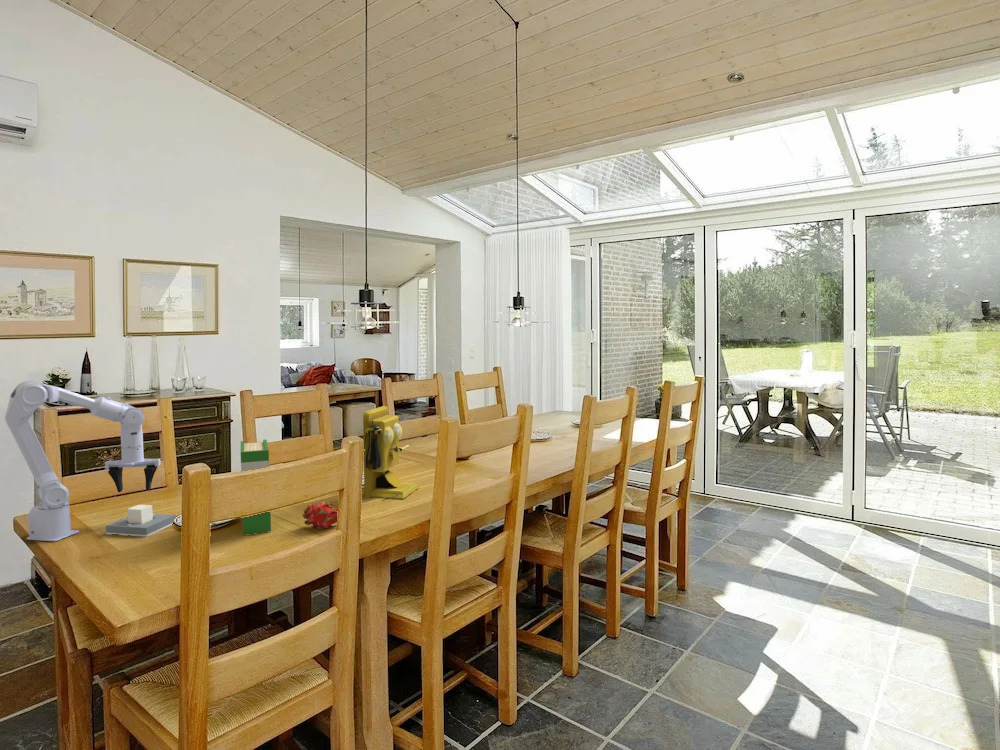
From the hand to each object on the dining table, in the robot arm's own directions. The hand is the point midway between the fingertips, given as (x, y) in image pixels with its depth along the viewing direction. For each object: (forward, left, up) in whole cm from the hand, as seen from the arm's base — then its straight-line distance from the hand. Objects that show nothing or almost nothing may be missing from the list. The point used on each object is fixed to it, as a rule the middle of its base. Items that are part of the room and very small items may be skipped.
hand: (134, 490), depth 185 cm
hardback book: (+38, +3, -10) cm, 39 cm away
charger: (+7, -6, -9) cm, 13 cm away
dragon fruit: (+59, +4, -10) cm, 60 cm away
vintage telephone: (+67, +42, -10) cm, 80 cm away
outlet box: (+7, -6, -9) cm, 13 cm away
